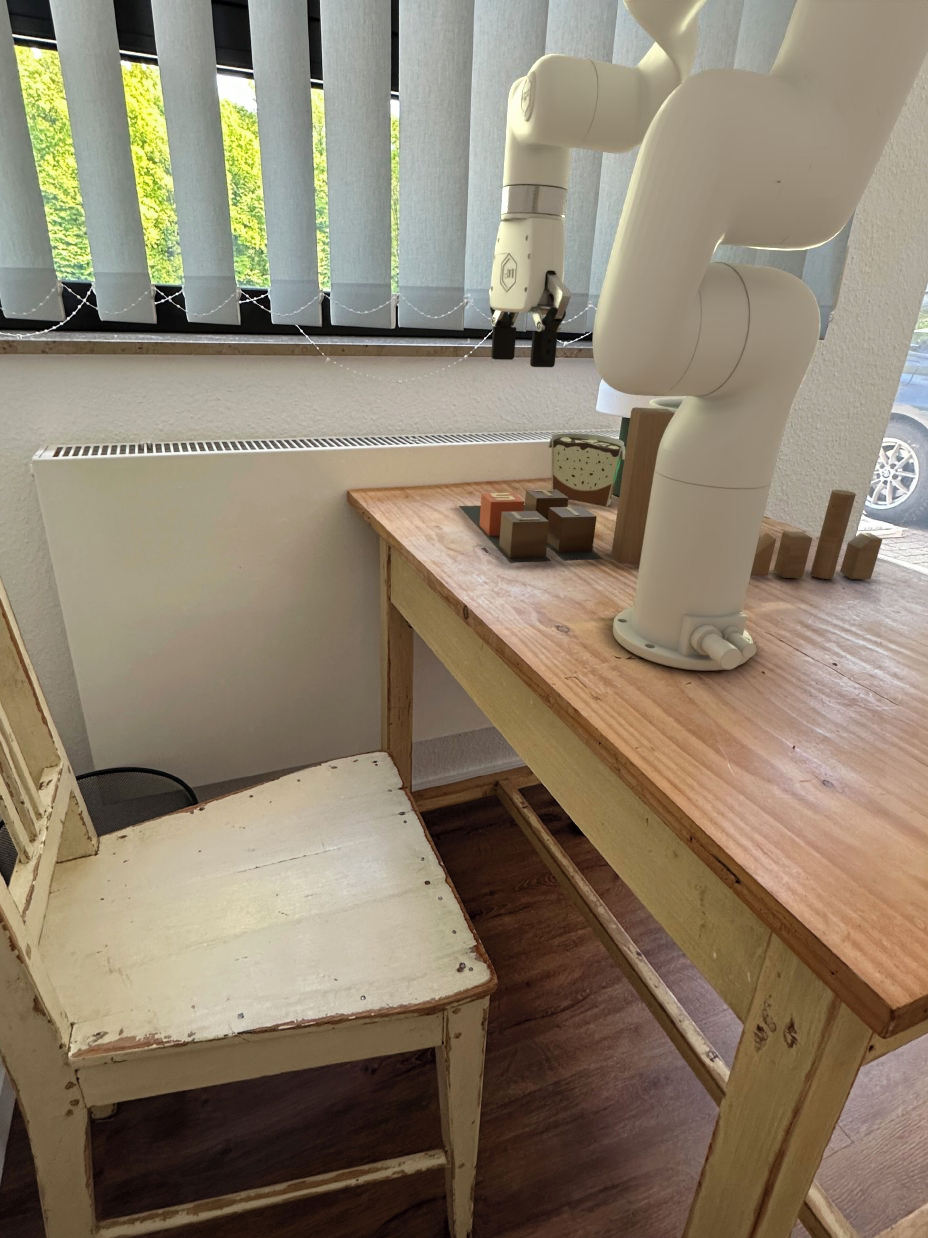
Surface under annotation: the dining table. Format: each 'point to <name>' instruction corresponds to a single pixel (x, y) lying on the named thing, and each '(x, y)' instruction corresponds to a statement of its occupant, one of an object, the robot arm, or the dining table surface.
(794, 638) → the dining table surface
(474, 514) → the flat dark green strips
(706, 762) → the dining table surface
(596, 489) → the food container
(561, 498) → the letter T
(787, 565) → the wood blocks
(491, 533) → the letter S
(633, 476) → the wooden block
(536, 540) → the box with white label
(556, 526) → the slotted brown box
